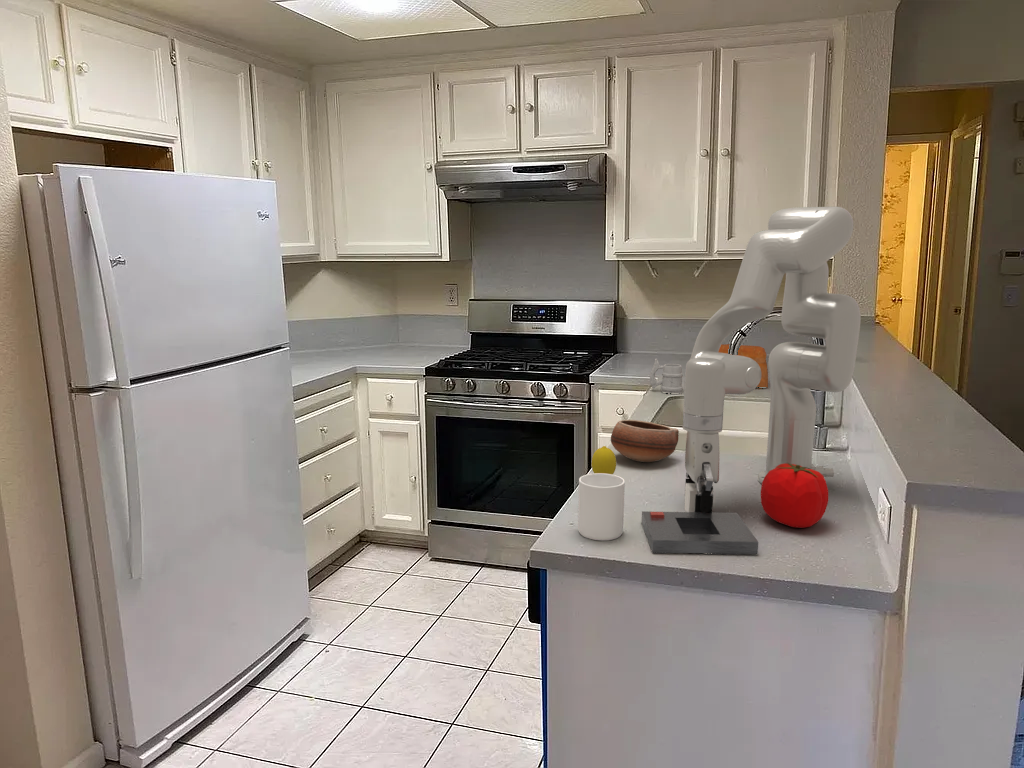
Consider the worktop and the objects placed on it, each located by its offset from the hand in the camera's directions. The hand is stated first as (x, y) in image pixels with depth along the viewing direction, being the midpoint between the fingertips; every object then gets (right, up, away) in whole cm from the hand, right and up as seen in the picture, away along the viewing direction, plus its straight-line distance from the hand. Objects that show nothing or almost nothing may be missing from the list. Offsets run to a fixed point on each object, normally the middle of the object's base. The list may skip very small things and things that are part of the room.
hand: (697, 505), depth 149 cm
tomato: (+17, -3, -4) cm, 18 cm away
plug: (0, -2, 0) cm, 2 cm away
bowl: (-5, +5, +36) cm, 37 cm away
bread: (+46, +24, +135) cm, 145 cm away
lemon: (-16, +2, +21) cm, 26 cm away
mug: (+18, +21, +120) cm, 123 cm away
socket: (-3, -4, -12) cm, 13 cm away
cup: (-20, -3, -8) cm, 22 cm away
